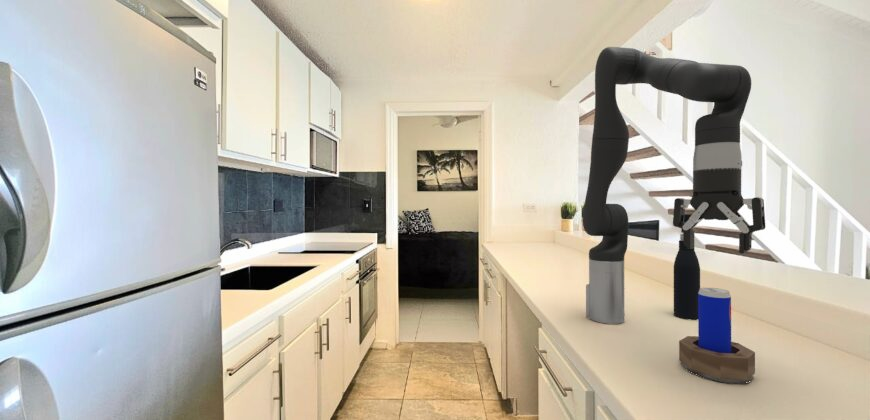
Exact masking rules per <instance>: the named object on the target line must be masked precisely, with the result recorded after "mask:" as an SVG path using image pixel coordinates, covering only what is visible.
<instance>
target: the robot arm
mask: <svg viewBox="0 0 870 420" xmlns="http://www.w3.org/2000/svg"><path fill="white" fill-rule="evenodd" d="M594 70H595V71H594V118H593V120H594V121H593V130H592V140H591V149H590V164H589V175H588V183H587V189H586V195H585V199H584V204H583V205H584V206H583V209H582V210H583V211H582V227H583V230H584V232H585V233H586V234H587V235H589V236H591V237H602V239H601V240H600V242H599V243H598V244H596V245H595V246H593V247H591V248H590V249H589V250H588V284H586V285H585V318H588V319H590V320H592V321H593V322H598V323H602V324H609V325H612V324H613V325H616V324H617V325H618V324H623V323H625V317H626V315H625V314H626V313H625V255H626V253H627V250H628V239H629V216H628V212H627V210H626V209H625V207H624V206H623V205H621V204H619V203H607V199H608V193H609V189H610V187H611V184H612V182H613V180H614V179H615V177H616V176H617V175H618V173H619V171H620V170H621V169H622V168H623V165H624V164H625V162H626V160H627V157H628V152H629V142H630V131H629V127H628V125H627V123H626V121H625V118H624V116H623V115H622V112H621V110H620V108H619V106H618V102H617V96H616V95H617V85H622V86H623V85H624V86H625V85H632V84H646V85H650V86H651V87H652V88H654V89H656V90H657V91H662V92H666V93H670V94H674V95H678V96H680V97H682V98H683V99H684V98H685V100H690V101H693V102H699V103H713V108H712V111H711V113H709V114H705V115H702V116H700V117H699V118H698V119H696V121H695V125H694V126H695V127H694V151H693V156H692V197H691V198H689V199H687V198H679V197H677V198H674V204H673V214H672V215H673V218H672V226H673V227H675V228H676V227H677V228H678V229H679V228H680V229H682V230H683V233H682V234H683V244H684V246H686V247H687V249H694V250H695V230H693V229H694V228H695V227H696V226H697V225H698V224H700V222H702V221H703V220H705V221H709V220H717V221H728V220H729V221H730V222H731V223H732V224H733V225H735V227H736V228H737V229H738V230H740V233H739V238H738V245H739V246H738V251H739V252H738V253H739V254H742V255H744V254H747V253H748V252H749V251H751V249H752V241H753V240H752V235H753V233H755V232H758V231H762V230H765V229H766V215H765V214H766V213H765V200H764V199H763V197H759V196H758V197H753V198H744V197H743V196H742V167H743V160H742V158H743V157H742V150H741V121H742V118H743V115H744V111H745V108H746V105H747V103H748V101H749V96H750V93H751V89H752V78H751V75H750V72H749V70H747V68H745V67H743V66H742V65H736V64H722V63H721V64H719V63H708V62H707V63H706V62H698V61H696V60H695V61H694V60H691V59H682V58H673V57H672V58H671V57H668V58H667V57H663V58H660V57H656V56H652V55H650V54H648V53H646V52H643V51H641V50H638V49H636V48H630V47H619V46H607V47H605V48H604V49H602V50H601V52H599V55H598V57H597V60H596V63H595V69H594ZM744 205H746V207H747V209H748V210H750V211H751V212H752V213H751V214H752V224H751V225H750V224H749V223H748V221H746V219H745V217H743V216H742V214H741V213H740V212H739V211H740V209H741V208H743V207H744ZM689 206H691V207H692V208H693V210H694V212H693V213H692V215H691V217H690V218H689V220H688V221H687V222H686V223H685V222H684V215H685V214H686V209H688V208H689Z"/></svg>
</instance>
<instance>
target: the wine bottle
mask: <svg viewBox="0 0 870 420" xmlns="http://www.w3.org/2000/svg"><path fill="white" fill-rule="evenodd" d="M692 214H693V213H692ZM692 214H691V213H687V214H686V213H685V215H684V222H685V223H686V222H687V221H688V220H689V218H690V217H691V215H692ZM680 229H681V228H680ZM680 231H681V233H680V235H679V240H678V251H677V252H676V255H675V259H674V262H673V316H674V317H676V318H678V317H679V318H680V319H682V318H683V319H684V320H688V319H691V320H690V321H698V320H697V319H698V292H699V290H700V288H701V266H700V262H699V258H698V256H697V253H696V251H695V248H694V249H687V247H686V246H684V244H683V230H682V229H681V230H680ZM679 318H678V319H679ZM683 319H682V320H683Z"/></svg>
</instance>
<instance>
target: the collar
mask: <svg viewBox="0 0 870 420" xmlns="http://www.w3.org/2000/svg"><path fill="white" fill-rule="evenodd" d="M678 343H679V345H678V359H679V360H678V361H680V362H681V366H682V365H683V366H682V367H683V368H684V369H685V370H686V369H687V370H688V372H689V371H690V372H689V373H691V372H692V373H691V374H693V373H694V374H693V375H695V374H697V375H699V376H698V377H700V376H701V377H700V378H703V377H704V378H703V379H706V378H707V380H709V379H711V380H710V381H713V380H715V381H714V382H717V381H721V382H720V383H723V382H726V383H725V384H730V383H745V384H747V383H746V382H749V381H751V380H752V381H753V376H754V375H755V374H756V352H755V351H753V349H750V348H748V347H746V346H744V345H742V344H740V343H739V342H735V341H731V353H717V352H713V351H709V350H705V349H702V348H699V340H698V336H695V335H694V336H693V335H687V336H685V337H684V338H681V339H680V340H679V341H678ZM687 370H686V371H687ZM697 375H696V376H697ZM752 381H751V382H752ZM749 383H750V382H749Z"/></svg>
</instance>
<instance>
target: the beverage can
mask: <svg viewBox="0 0 870 420" xmlns="http://www.w3.org/2000/svg"><path fill="white" fill-rule="evenodd" d="M697 322H698V323H697V324H698V325H697V326H698V327H697V328H698V331H697V332H698V340H699V348H702V349H705V350H709V351H713V352H717V353H731V342H732V296H731V294H730V291H729V290H726V289H723V288H715V287H700V290H699V292H698V320H697Z"/></svg>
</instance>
